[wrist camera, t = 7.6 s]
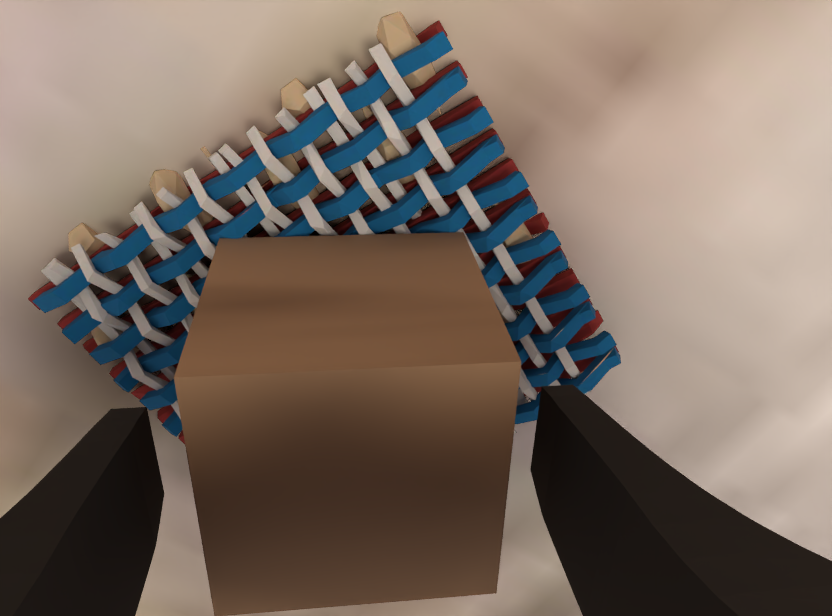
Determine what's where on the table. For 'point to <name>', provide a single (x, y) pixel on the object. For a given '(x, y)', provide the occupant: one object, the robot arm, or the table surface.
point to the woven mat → (295, 184)
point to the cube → (347, 421)
